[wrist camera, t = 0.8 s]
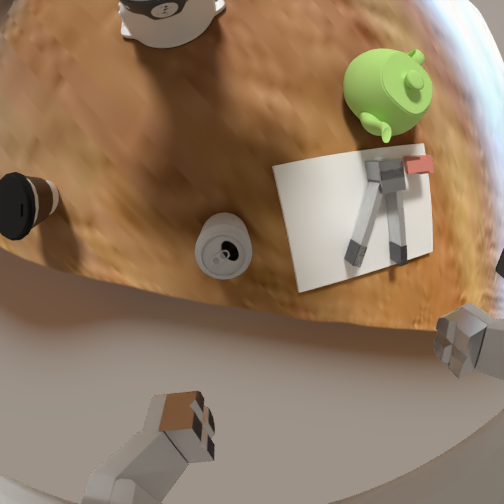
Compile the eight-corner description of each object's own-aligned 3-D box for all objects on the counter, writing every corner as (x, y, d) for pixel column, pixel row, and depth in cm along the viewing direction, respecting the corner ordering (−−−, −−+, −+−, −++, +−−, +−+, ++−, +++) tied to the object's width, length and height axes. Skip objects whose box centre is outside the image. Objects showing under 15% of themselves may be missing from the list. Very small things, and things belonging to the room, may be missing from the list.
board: (271, 166, 43) (273, 166, 41) (419, 143, 43) (423, 143, 42) (297, 289, 50) (299, 292, 48) (428, 249, 50) (432, 251, 48)
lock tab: (388, 158, 42) (406, 158, 37) (415, 154, 42) (433, 155, 37) (391, 175, 43) (409, 176, 38) (417, 170, 43) (436, 172, 38)
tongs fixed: (364, 161, 42) (378, 162, 38) (386, 158, 42) (401, 158, 38) (376, 262, 48) (389, 271, 43) (397, 256, 48) (410, 264, 43)
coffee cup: (72, 170, 40) (32, 174, 28) (67, 229, 43) (30, 248, 31) (31, 167, 38) (-9, 171, 27) (27, 221, 41) (-10, 236, 30)
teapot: (376, 171, 44) (421, 175, 32) (309, 120, 41) (339, 104, 29) (420, 87, 40) (463, 75, 27) (362, 38, 36) (397, 11, 24)
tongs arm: (367, 181, 43) (378, 183, 39) (374, 184, 43) (386, 186, 40) (344, 258, 47) (352, 265, 43) (351, 260, 47) (360, 267, 43)
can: (255, 240, 46) (265, 264, 35) (218, 264, 47) (215, 295, 36) (231, 202, 44) (232, 214, 33) (192, 227, 45) (181, 248, 33)
